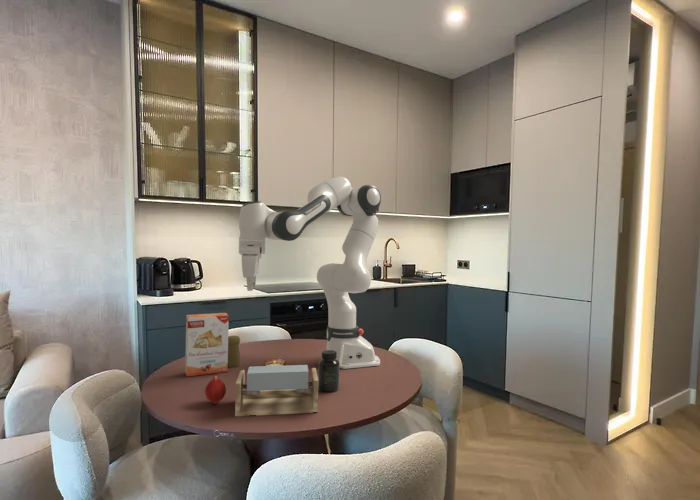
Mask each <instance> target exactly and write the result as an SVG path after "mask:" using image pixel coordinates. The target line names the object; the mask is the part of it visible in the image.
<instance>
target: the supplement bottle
mask: <svg viewBox="0 0 700 500" xmlns="http://www.w3.org/2000/svg"><path fill="white" fill-rule="evenodd" d="M336 358H337V352H336V351H333V350H323V351H322V352H321V359H320V360H319V361H318V371H317V372H318V374H317V376H318V391H321V392H324V393H334V392H337V391H338V390H339V388H340V369H341V368H340V364H339V361H338V360H337V359H336ZM336 390H337V391H336ZM333 391H334V392H333Z"/></svg>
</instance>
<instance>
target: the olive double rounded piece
mask: <svg viewBox="0 0 700 500" xmlns="http://www.w3.org/2000/svg"><path fill="white" fill-rule="evenodd" d="M240 344H241V338H240V336H238V335H228V368H237V367H240V366H241V365H242V361H241V354H240Z"/></svg>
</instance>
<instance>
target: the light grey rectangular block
mask: <svg viewBox="0 0 700 500" xmlns="http://www.w3.org/2000/svg"><path fill="white" fill-rule="evenodd" d="M309 372H310V371H309V366H308V364H294V365H290V364H289V365H287V364H286V365H258V366H254V365H253V366H248V369H247V373H246V384H247V389H246V391H267V390H291V389H308V388H309V386H308V382H309Z"/></svg>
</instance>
